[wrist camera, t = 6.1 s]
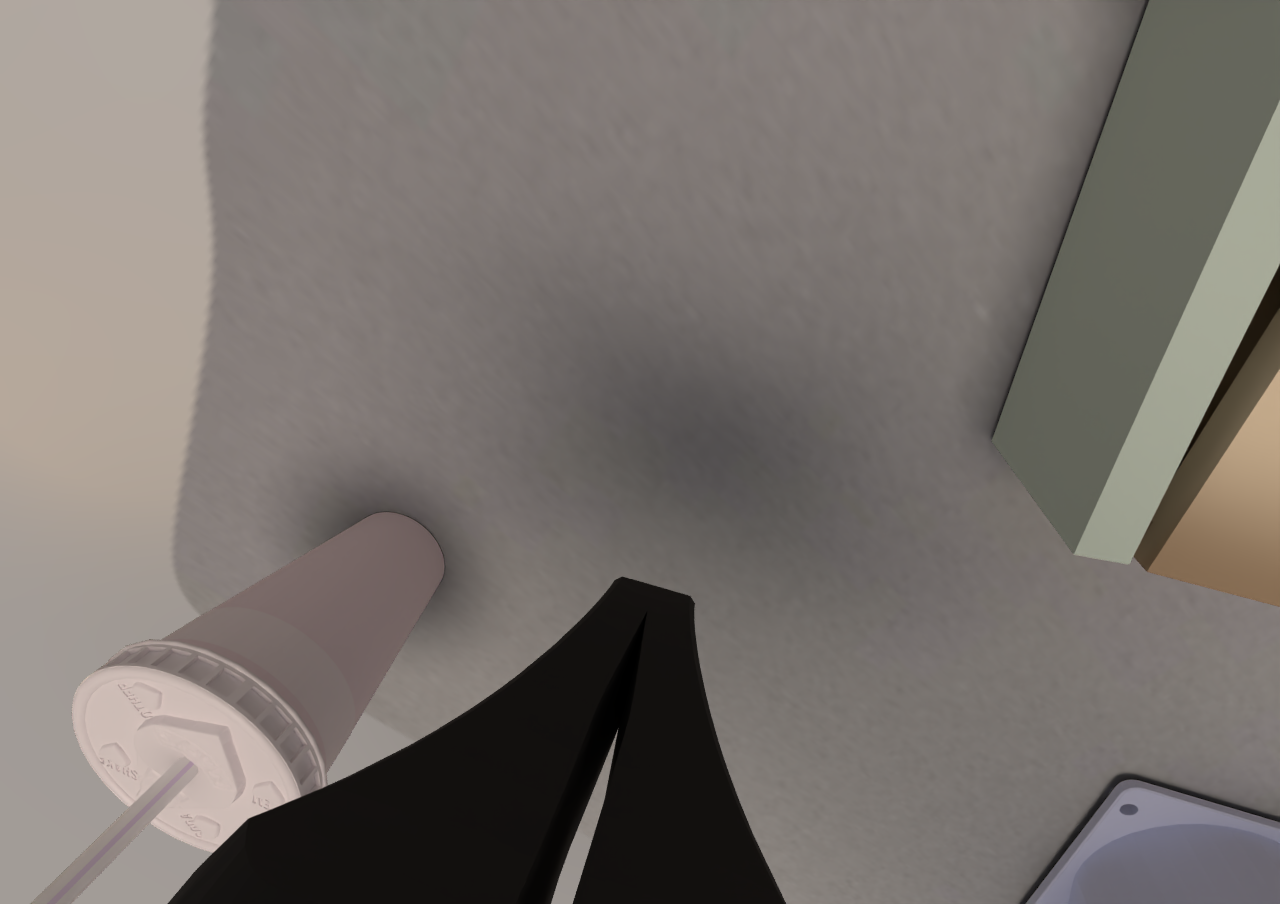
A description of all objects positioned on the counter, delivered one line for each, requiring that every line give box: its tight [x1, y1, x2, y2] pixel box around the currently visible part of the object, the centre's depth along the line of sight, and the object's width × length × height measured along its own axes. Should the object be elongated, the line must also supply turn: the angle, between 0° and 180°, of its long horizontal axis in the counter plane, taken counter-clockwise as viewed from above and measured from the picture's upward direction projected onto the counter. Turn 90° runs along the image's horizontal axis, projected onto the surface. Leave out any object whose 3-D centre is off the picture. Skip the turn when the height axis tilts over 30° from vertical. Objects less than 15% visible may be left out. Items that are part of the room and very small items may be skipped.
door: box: [992, 0, 1280, 565], centre depth 13 cm, size 12×2×6 cm, turn 174°
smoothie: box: [31, 512, 445, 904], centre depth 18 cm, size 6×6×14 cm
